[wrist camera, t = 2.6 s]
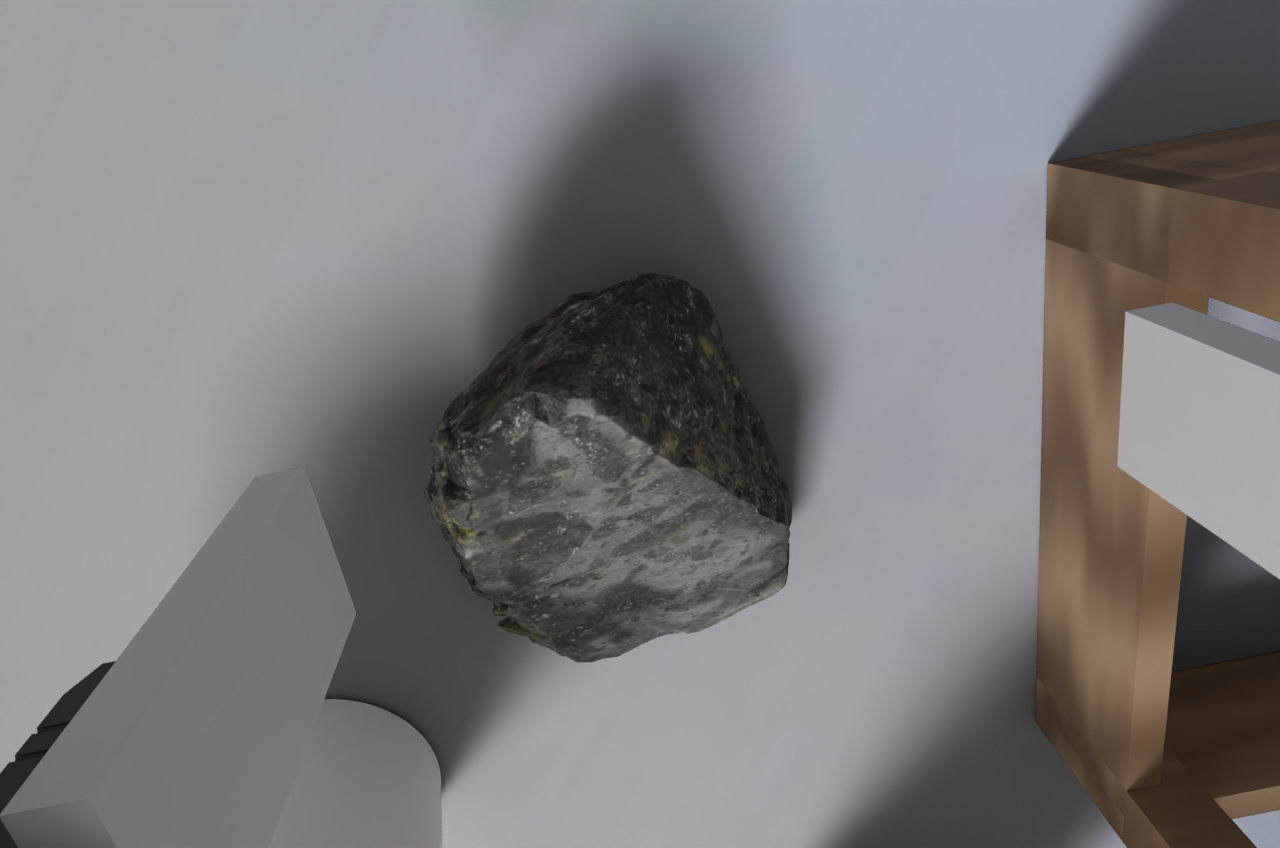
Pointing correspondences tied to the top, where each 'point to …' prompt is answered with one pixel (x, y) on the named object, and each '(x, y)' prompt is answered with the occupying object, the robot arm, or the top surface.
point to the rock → (612, 475)
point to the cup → (363, 784)
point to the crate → (1145, 491)
